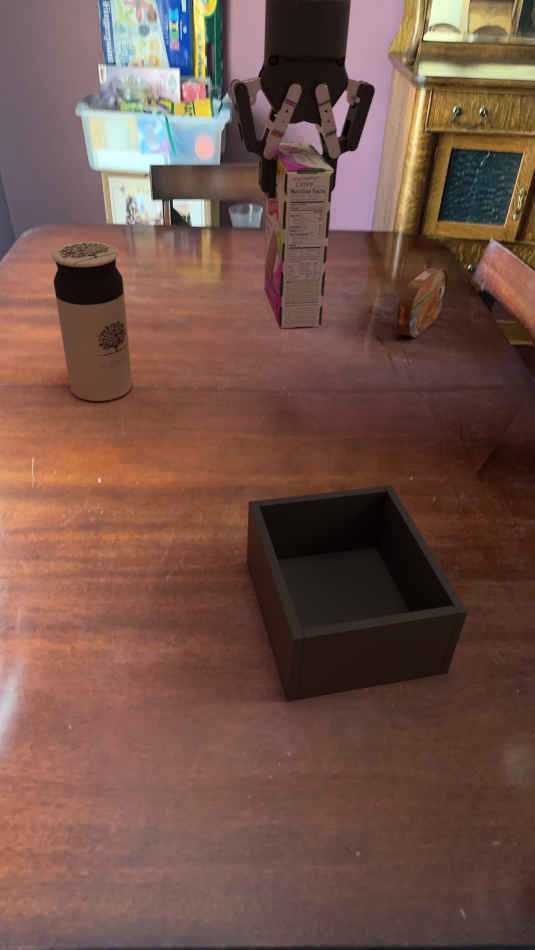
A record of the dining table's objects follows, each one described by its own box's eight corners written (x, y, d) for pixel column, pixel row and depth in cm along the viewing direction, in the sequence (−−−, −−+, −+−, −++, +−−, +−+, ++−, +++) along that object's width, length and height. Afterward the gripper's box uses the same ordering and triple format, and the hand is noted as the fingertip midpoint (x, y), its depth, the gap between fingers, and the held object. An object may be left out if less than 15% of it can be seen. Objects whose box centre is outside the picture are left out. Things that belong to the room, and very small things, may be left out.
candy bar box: (261, 290, 81) (265, 141, 71) (302, 289, 82) (312, 141, 72) (276, 331, 72) (284, 167, 62) (322, 329, 73) (337, 167, 63)
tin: (407, 345, 103) (417, 292, 98) (388, 339, 104) (397, 287, 99) (443, 313, 113) (454, 263, 108) (426, 308, 114) (435, 259, 109)
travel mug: (61, 382, 90) (38, 246, 79) (116, 367, 93) (102, 236, 82) (85, 409, 85) (65, 268, 74) (142, 392, 88) (131, 256, 77)
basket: (380, 543, 67) (391, 484, 63) (447, 672, 55) (468, 611, 51) (246, 561, 64) (248, 501, 60) (287, 701, 52) (293, 639, 48)
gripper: (235, -8, 55) (234, 209, 65) (401, -2, 58) (374, 204, 68) (220, -12, 61) (221, 187, 71) (371, -6, 63) (351, 184, 74)
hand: (296, 195), depth 69 cm, fingers closed on candy bar box, 5 cm apart
